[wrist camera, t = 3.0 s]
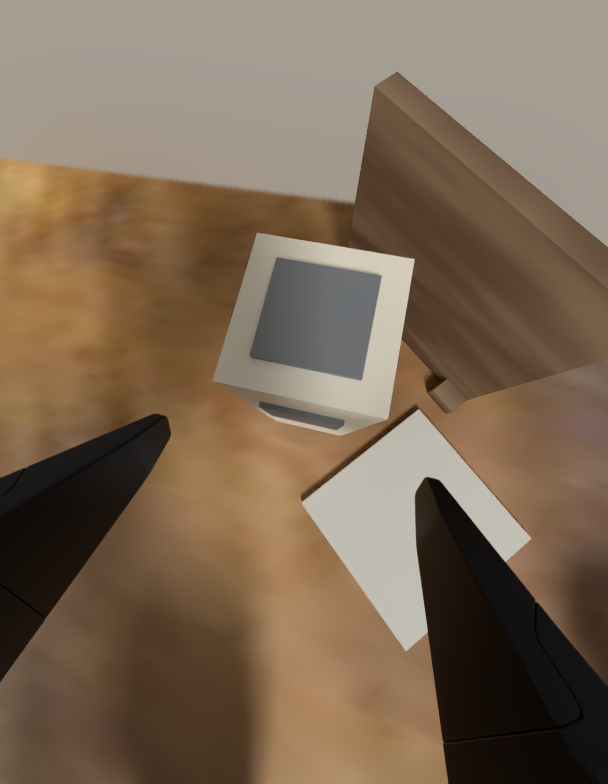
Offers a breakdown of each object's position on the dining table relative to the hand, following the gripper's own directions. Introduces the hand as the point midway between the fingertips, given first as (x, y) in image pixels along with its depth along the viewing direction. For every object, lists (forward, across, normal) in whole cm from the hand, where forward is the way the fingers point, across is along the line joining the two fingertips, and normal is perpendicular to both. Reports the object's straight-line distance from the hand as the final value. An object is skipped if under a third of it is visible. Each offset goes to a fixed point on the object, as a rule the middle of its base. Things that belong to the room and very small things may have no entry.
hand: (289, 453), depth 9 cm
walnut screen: (+16, -6, 0) cm, 17 cm away
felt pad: (+6, -8, +10) cm, 14 cm away
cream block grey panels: (+11, 0, +5) cm, 12 cm away
